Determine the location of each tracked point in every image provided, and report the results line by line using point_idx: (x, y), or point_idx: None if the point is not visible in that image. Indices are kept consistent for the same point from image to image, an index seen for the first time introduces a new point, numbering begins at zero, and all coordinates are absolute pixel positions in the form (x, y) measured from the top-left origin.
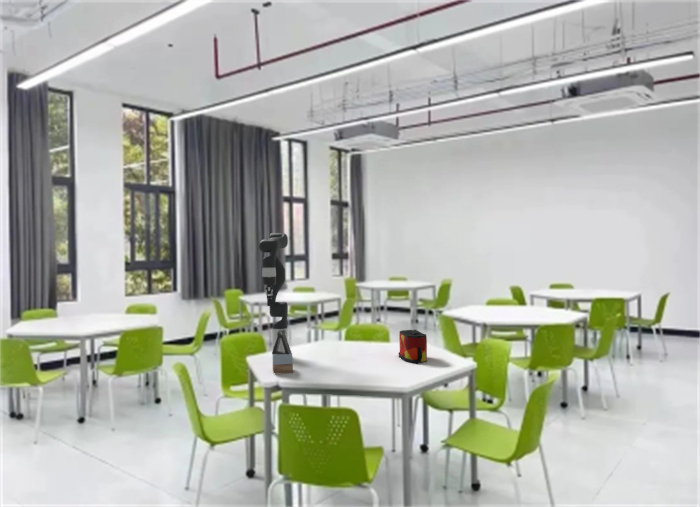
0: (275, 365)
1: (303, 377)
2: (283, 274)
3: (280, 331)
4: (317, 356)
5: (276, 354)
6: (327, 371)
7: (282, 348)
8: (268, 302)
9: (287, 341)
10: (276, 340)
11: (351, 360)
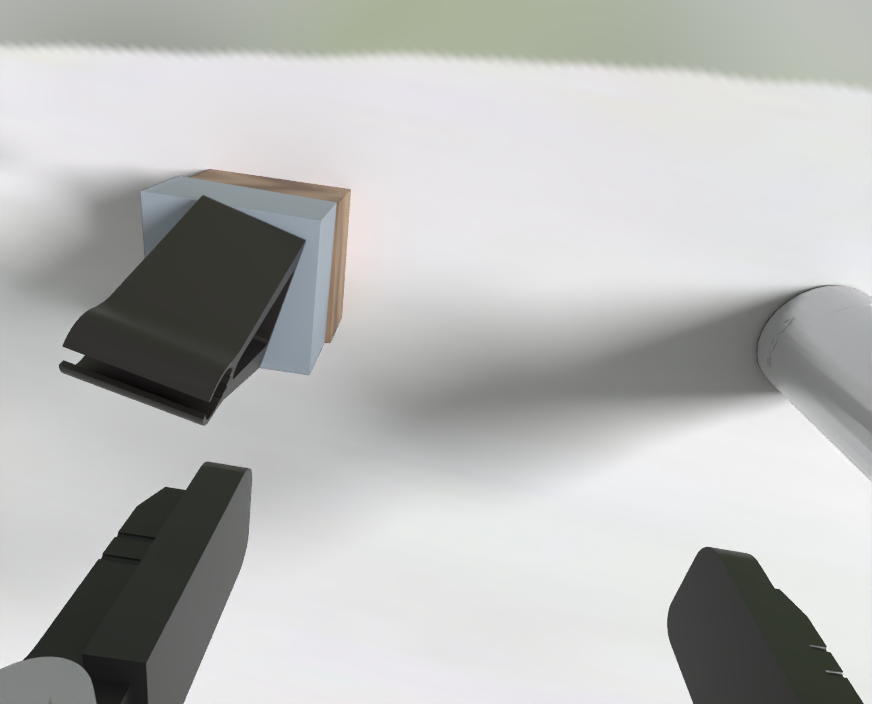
0: None
1: (69, 329)
2: None
3: (216, 376)
4: (659, 541)
5: (168, 228)
6: None
7: (793, 379)
8: (103, 565)
9: (238, 384)
10: (132, 273)
11: (454, 644)
